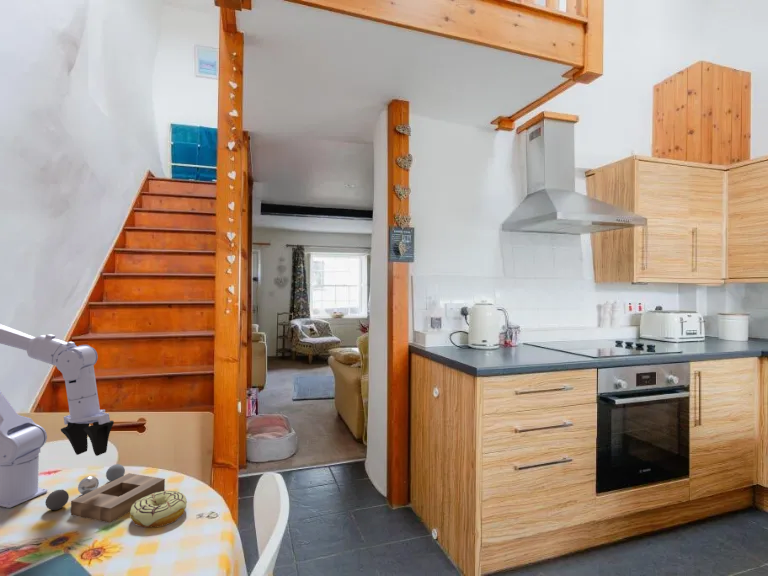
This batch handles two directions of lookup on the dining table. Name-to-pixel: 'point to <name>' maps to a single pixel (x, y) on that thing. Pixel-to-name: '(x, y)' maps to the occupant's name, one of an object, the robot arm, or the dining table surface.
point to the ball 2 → (115, 472)
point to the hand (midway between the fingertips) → (91, 453)
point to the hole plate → (115, 497)
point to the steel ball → (88, 484)
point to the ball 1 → (57, 499)
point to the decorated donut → (158, 509)
